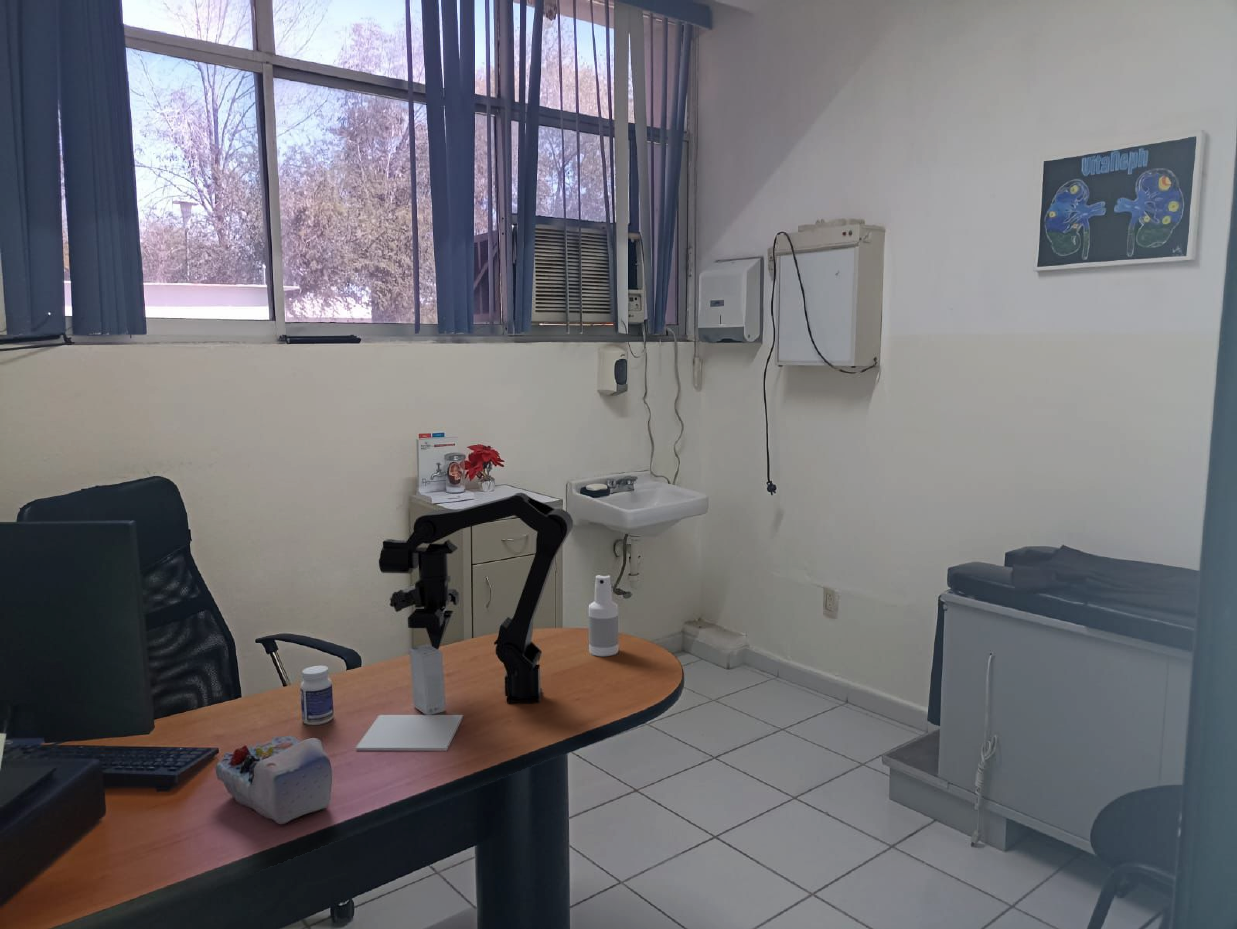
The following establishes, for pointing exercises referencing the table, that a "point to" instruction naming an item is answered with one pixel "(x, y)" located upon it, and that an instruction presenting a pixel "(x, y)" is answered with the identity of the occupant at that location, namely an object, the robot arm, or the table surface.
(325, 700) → the pill bottle
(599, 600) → the spray bottle
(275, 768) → the cell model
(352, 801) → the table surface
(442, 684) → the skincare box
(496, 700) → the table surface
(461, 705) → the table surface
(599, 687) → the table surface
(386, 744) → the mat
